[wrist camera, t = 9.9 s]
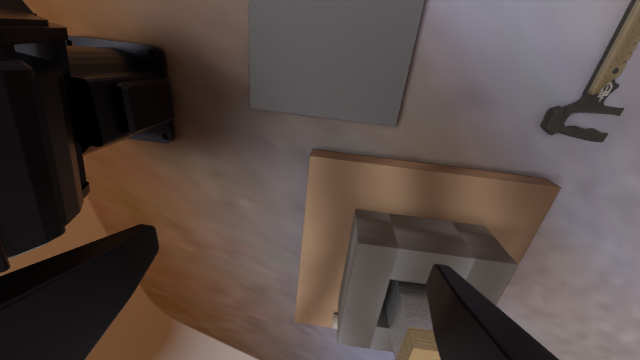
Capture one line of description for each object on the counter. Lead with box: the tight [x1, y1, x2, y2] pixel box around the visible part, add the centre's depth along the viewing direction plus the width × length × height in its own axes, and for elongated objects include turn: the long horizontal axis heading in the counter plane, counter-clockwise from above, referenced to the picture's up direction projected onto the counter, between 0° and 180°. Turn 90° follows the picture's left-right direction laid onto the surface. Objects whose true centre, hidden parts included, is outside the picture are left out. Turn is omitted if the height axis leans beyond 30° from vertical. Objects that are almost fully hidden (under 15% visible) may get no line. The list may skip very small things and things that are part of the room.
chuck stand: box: [295, 149, 561, 352], centre depth 21 cm, size 17×17×6 cm
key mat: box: [249, 0, 425, 127], centre depth 16 cm, size 10×10×1 cm
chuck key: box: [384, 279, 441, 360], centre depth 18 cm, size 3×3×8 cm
